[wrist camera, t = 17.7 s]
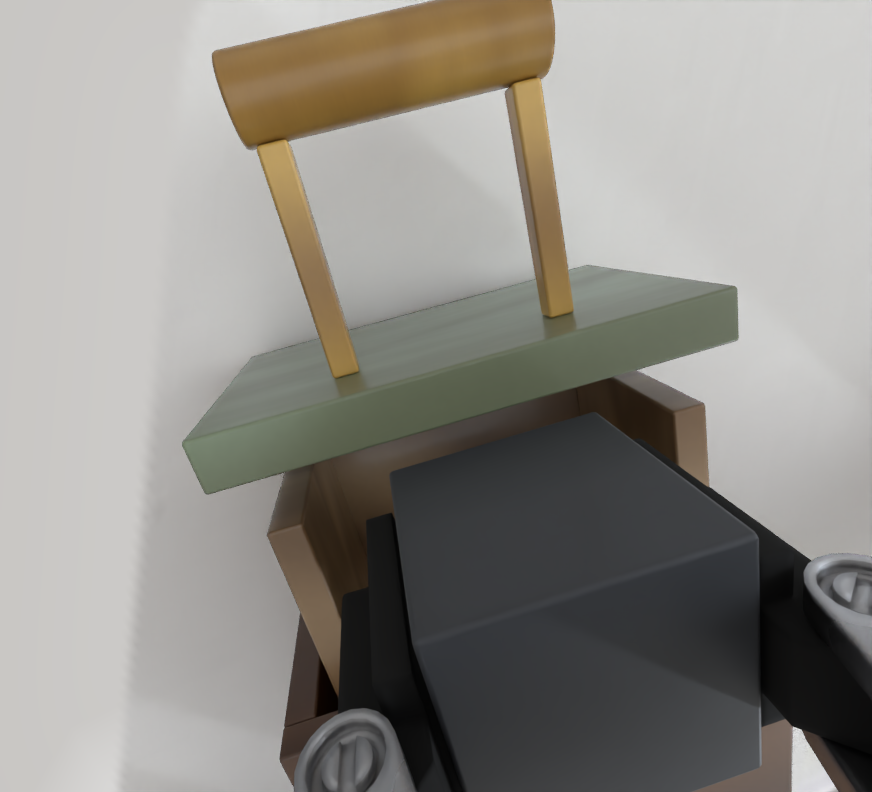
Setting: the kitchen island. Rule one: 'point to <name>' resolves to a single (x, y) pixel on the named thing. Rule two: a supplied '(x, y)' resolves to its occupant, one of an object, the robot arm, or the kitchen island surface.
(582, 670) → the block
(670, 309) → the drawer
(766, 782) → the cabinet
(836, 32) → the kitchen island surface
